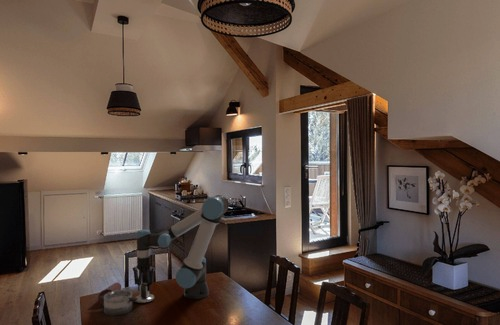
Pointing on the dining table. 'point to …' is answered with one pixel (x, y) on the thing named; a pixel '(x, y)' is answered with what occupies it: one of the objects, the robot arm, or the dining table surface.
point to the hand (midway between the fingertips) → (144, 296)
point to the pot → (118, 302)
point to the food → (111, 288)
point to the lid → (144, 295)
